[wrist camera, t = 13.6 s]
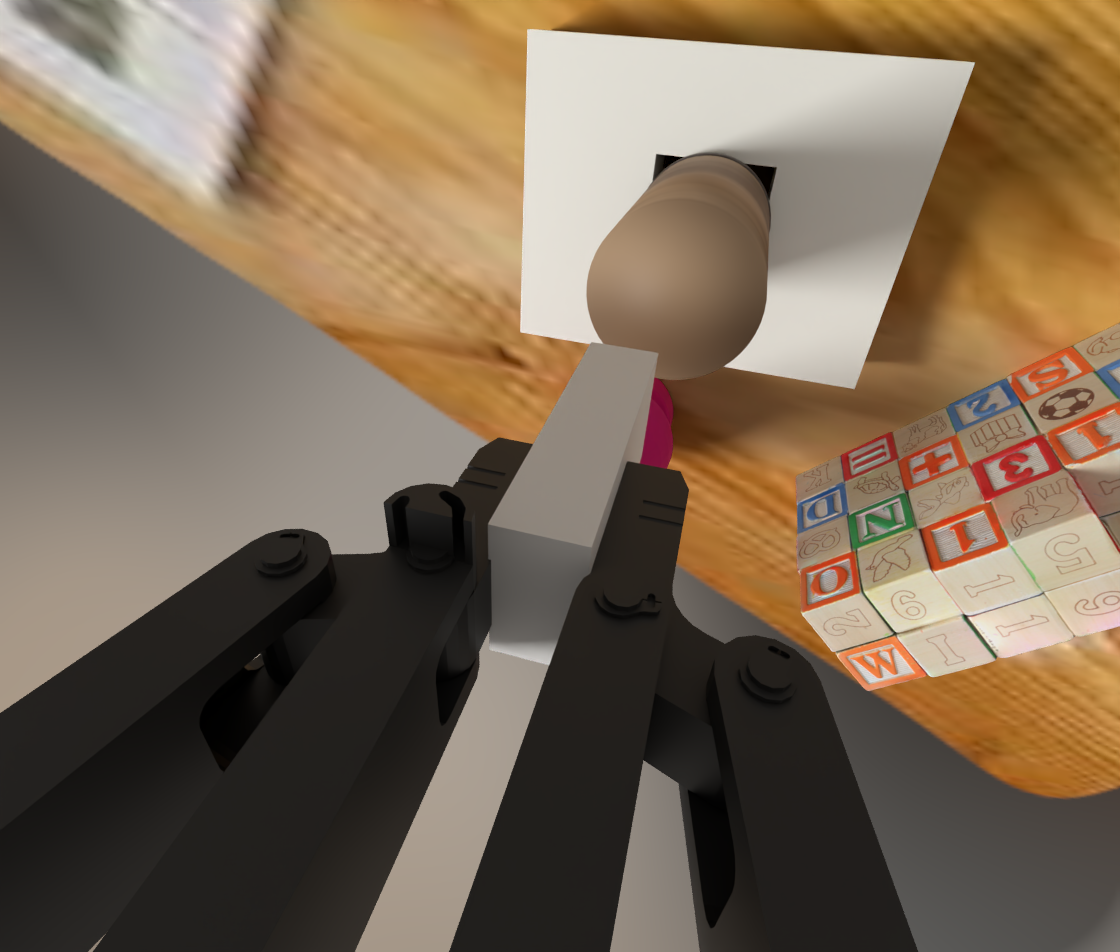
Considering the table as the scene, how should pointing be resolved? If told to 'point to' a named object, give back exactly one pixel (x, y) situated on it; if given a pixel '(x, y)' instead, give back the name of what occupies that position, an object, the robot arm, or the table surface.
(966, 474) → the stack of blocks
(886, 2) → the table surface
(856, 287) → the cream board
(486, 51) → the table surface
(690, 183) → the walnut peg
